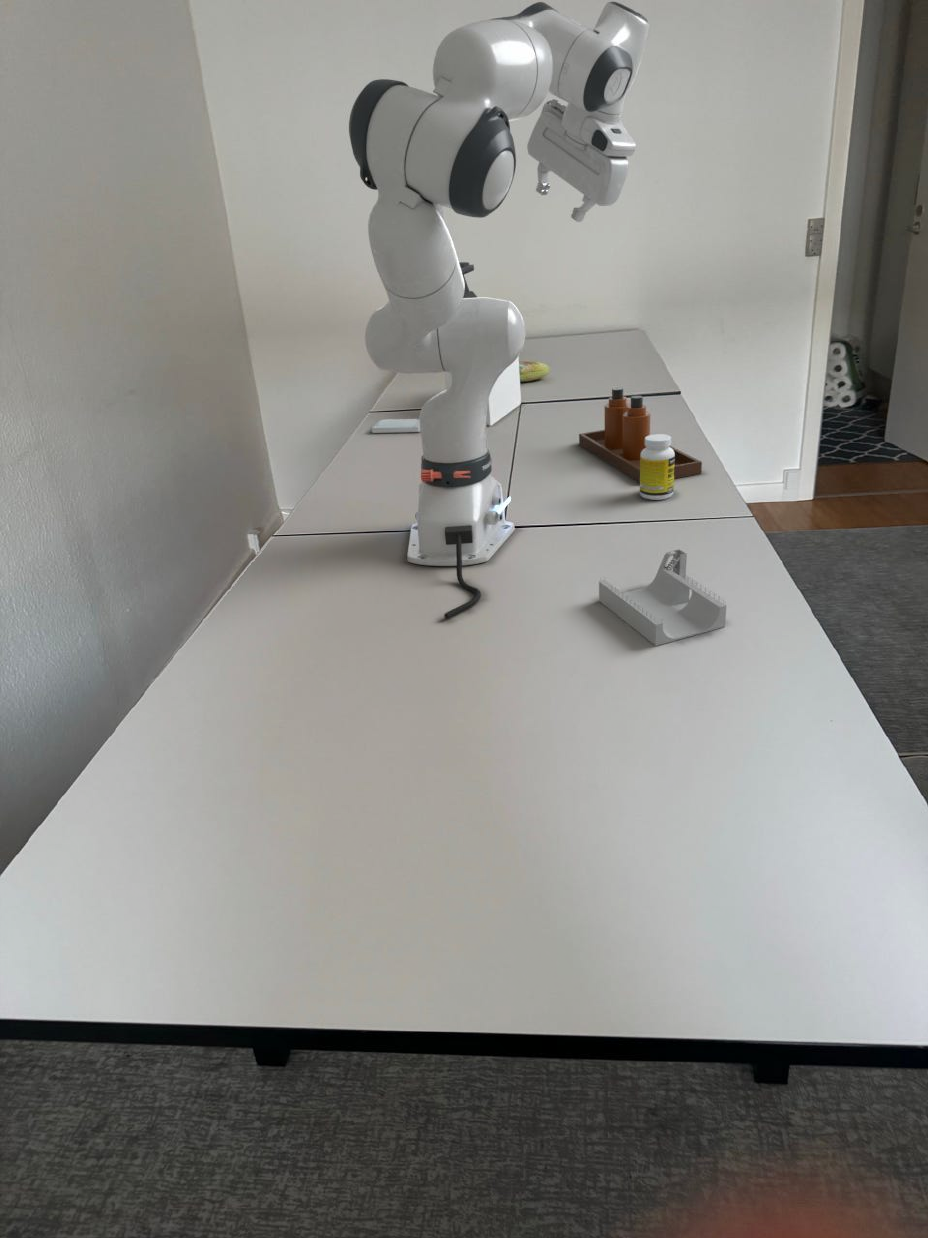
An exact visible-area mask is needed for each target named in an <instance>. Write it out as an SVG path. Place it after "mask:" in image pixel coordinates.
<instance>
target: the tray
mask: <svg viewBox="0 0 928 1238" xmlns="http://www.w3.org/2000/svg"><path fill="white" fill-rule="evenodd" d="M578 445H579V446H581V447H582V448H584V449H585V450H587V451H589V452H590V453H592V454H593V455H595V456H596V457H599V458H600V459H602V460H603V461H604V462H606V463H608V464H610V465H611V466H613V467H614V468H616V469H618V470H619V471H621V472H623V473H624V474H626V475H627V476H628V477H631V478H632V479H634V480H635V481H637V482H639V483H640V460H629V459H625V458H623V449H609V448H606V447H605V429H601V430H595V431H587V432H583V433H579V434H578ZM669 447H670V448H672V449H673V450H674V453H675V461H674V480H676V479H682V478H686V477H691V476H698V475H702V469H703V468H702V467H703V461H701V460H699V459H697V458H695V457H694V456H691V455H689V454H687V453H685V452H683V451H681V450H679V449H678V448H675V447H673V446H672V445H670V446H669Z"/></svg>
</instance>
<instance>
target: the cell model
mask: <svg viewBox="0 0 928 1238" xmlns="http://www.w3.org/2000/svg"><path fill="white" fill-rule="evenodd" d="M550 371H551V369H550V367H549V365H547V364H545V363H542V362H538V361H530V360H525V361H519V373H520V383H522V382H523V383H524V382H532V381H536V380H540V379H542V378H545V377H547V376H548V375H549V373H550Z"/></svg>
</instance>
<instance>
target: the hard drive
mask: <svg viewBox="0 0 928 1238" xmlns="http://www.w3.org/2000/svg"><path fill="white" fill-rule="evenodd" d="M371 432H372V434H392V433H393V434H395V433H396V434H397V433H421V430H420V421H419V418H395V419H394V418H392V419H386V418H385V419H380V420H378V421H377V423H376V424H374V425H372V427H371Z"/></svg>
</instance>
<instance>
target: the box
mask: <svg viewBox="0 0 928 1238" xmlns="http://www.w3.org/2000/svg"><path fill="white" fill-rule="evenodd" d="M519 362H520V355H519V356H518V357H517V359H516V360H515V361H514V362H513V363H512V364H511V365H510V366H508V367H507V368H506V369H505V370H504V371H503V372H502V374H501V375H500V376H499V378H498V379H497V381H496V382H495V384H494V386H493V388H492V390H491V393H490V396H489V399H488V404H487V413H486V426H490V427H492V426H493V425H494V424H495V423H497V422H498V421H500V420H501V419H502V418H504V417H505V416H506V415H508V414H509V413H511V412H512V411H514V410H515V409H516V408H517V407H519V406H520V405H521V404H522V397H521V396H522V395H521V394H522V393H521V392H522V391H521V382H520V373H519ZM444 381H445V389H447V388H448V387H450V386H451V383H452V375H451V373H449V372H444Z"/></svg>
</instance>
